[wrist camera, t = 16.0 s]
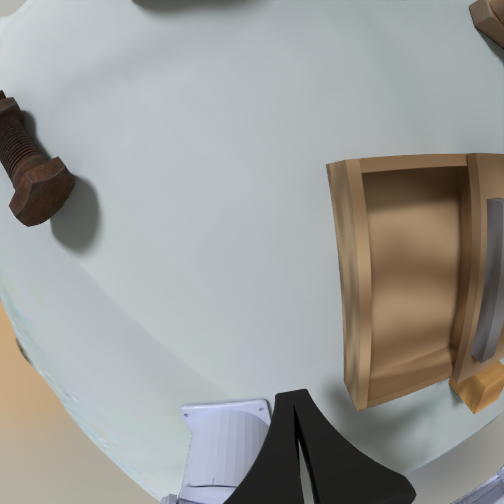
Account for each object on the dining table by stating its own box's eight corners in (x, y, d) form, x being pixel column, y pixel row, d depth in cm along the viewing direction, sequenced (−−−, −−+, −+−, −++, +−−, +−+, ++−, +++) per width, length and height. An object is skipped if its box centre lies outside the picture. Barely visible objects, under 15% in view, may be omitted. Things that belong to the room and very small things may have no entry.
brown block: (472, 371, 23) (498, 398, 17) (448, 383, 23) (474, 414, 17) (479, 344, 22) (510, 370, 16) (455, 356, 22) (485, 387, 16)
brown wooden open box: (450, 344, 21) (472, 365, 17) (343, 381, 22) (356, 411, 18) (456, 155, 17) (487, 154, 13) (325, 164, 18) (345, 159, 14)
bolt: (17, 100, 17) (81, 191, 19) (-18, 132, 15) (39, 234, 17) (1, 66, 12) (63, 160, 14) (-40, 103, 10) (8, 215, 12)
